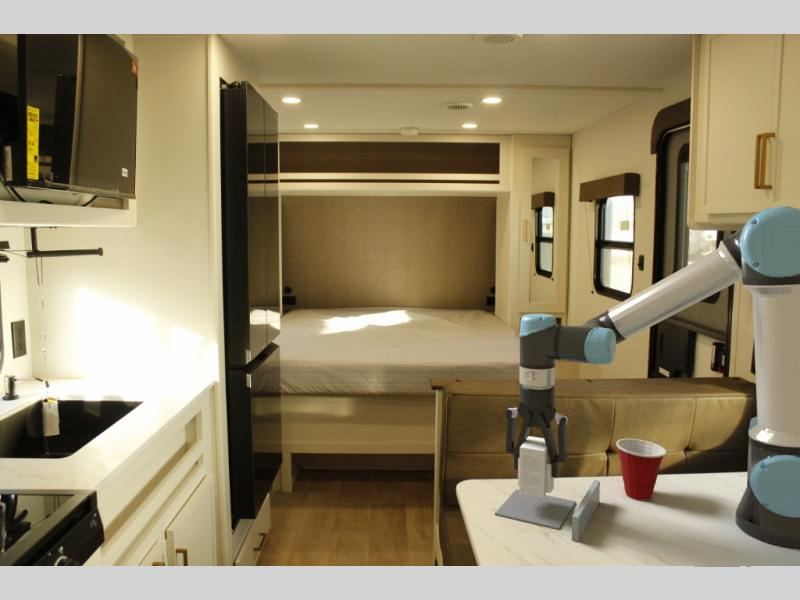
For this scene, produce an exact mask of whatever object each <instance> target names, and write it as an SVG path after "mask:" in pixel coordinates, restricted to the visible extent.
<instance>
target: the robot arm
mask: <svg viewBox="0 0 800 600" xmlns="http://www.w3.org/2000/svg"><path fill="white" fill-rule="evenodd" d="M738 282H742V283H741V284H742V287H743V288H745V289H746V290H747V291H748V292H749V293H750V294H751V296H752V311H753V315H752V316H753V339H754V340H753V341H754V342H753V343H754V365H755V388H756V391H755V392H756V416H754V417H752V418H751V419H750V422H749V428H748V450H747V451H748V453H747V454H748V455H747V456H748V457H747V475H746V477H747V481H746V488H745V489H744V492H743V494H742V497H741V498H740V501H739V503H738V505H737V507H736V511H735V524H736V526H737V527H738V528H739V529H740V530H741V531H742V532H744V533H746V534H747V535H748V536H751V537H752V538H755V539H758V540H760V541H761V542H762V541H763V542H766V543H768V544H772V545H775V546H779V547H780V546H781V547H786V548H793V549H794V548H796V549H800V209H799V208H797V207H793V206H788V205H787V206H775V207H770V208H769V207H768V208H765V209H762V210H761V211H759V212H757V213H755V214H754V215H753V216H751V218H749V220H748V221H747V222H746V224H745V225H743V226H742V227H740V229H738V230H737V231H735V232H733V233H732V234H731V235H730V236H727V237H726V238H724V239H723V240H720V242H719V245H718V248H716V249H714V250H713V251H711V252H709V253H708V254H706V255H704V256H703V257H701V258H698V259H697V260H695V261H693V262H691V263H689V264H688V265H686V266H685V267H682V268H680V269H679V270H678V271H676V272H674V273H672V274H670V275H668V276H666V277H664V278H663V279H661V280H659V281H658V282H656V283H654V284H651V286H649V287H647V288H645V289H643V290H641V291H639V292H638V293H636V294H634V295H632V296H631V297H629V298H627V299H625V300H623V301H622V302H620V303H618V304H617V305H615V306H612V307H611V308H609V309H608V310H607V311H603V312H602V313H600V314H598V315H597V316H594V317H592V318H590V319H589V320H587V321H586V322H585V323H583V324H581V325H577V326H576V325H563V324H562V325H561V324H558V323H557V317H556V316H554V315H553V314H546V313H527V314H525V315H522V317H521V318H520V323H519V324H520V328H519V334H518V337H519V384H520V386H519V387H518V390H519V391H518V394H519V395H518V397H519V399H518V403H519V404H518V405H517V407H512V406H511V407H509V408H507V409H506V410H505V416H506V420H507V423H506V436H505V437H506V442H505V452H506V453H508V454H511V455H512V456H513V468H514V471H517V487H519V488H520V447H521V445H522V444H523V443H524V441H525V440H526V439H527V437H528V435H529V432H530V429H531V428H536V429H540V431H541V434H542V436H543V438H544V440H545V443H546V447H547V450H548V454H549V457H550V461H549V462H548V463H547V493H548V494H551V493H552V491H554V488H555V486H554V485H555V478H556V479H557V477H558V476H559V466H560V465H559V464H560V463H565V461H566V460H567V459H568V439H567V438H568V435H567V429H568V428H567V426H568V425H567V424H568V422H569V419H570V418H569V417H570V416H568V414H564V415H563V414H562V413H558V412H557V410H556V407H555V398H556V397H555V396H556V395H555V393H556V389H555V387H554V385H555V383H556V361H560V362H562V361H563V362H570V363H571V362H572V363H582V364H591V365H593V366H595V365H596V366H597V365H610V364H612V363H613V362H614V359H615V357H616V356H615V355H616V346H617V345H618V344H620V343H622V342H624V341H626V340H627V339H629V338H631V337H633V336H635V335H638V334H639V333H641V332H643V331H644V330H647V329H649V328H650V327H653V326H654V325H657V324H658V323H660V322H662V321H664V320H666V319H668V318H670V317H672V316H674V315H676V314H678V313H679V312H681V311H683V310H686V309H687V308H689V307H691V306H693V305H696V304H697V303H699V302H700V301H701V302H702V300H705V299H707V298H708V297H711V296H712V295H714V294H716V293H718V292H720V291H722V290H724V289H726V288H728V287H730V286H733V284H735V283H738ZM518 415H519V416H520V418H521V419H522V421H523V422H522V425H521V427H520V428H521V429H520V432H519V436H518V439H517V441H516V430H517V429H516V428H517V417H518ZM554 419H555V422H556V424H557V441H558V442H557V445H558V449H557V445H556V442H555V438H554V435H553V431H552V429H553V428H552V425H551V422H552V421H553V420H554ZM547 493H546V494H547Z"/></svg>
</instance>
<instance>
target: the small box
mask: <svg viewBox="0 0 800 600" xmlns="http://www.w3.org/2000/svg"><path fill="white" fill-rule="evenodd" d="M549 461H550V457H549V454H548V450H547V447H546V443H545V440H544V437H537V436H530V435H529V436H527V439H526V440H525V441H524V443H523V444H522V445H521V447H520V487H519V489H518V490H519V493H521V494H527V495H533V496H538V497H545V495H547V463H548V462H549Z"/></svg>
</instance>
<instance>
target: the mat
mask: <svg viewBox="0 0 800 600" xmlns="http://www.w3.org/2000/svg"><path fill="white" fill-rule="evenodd" d="M519 490H520V489H519V488H516V489H515V490H514V491H512V493H511V494H510V495H509V496H508V498H507V499H506V500H505V501H504V502H503V503H502V504H501V505H500V507H499V508H498V509H497V510H496V511H495V512H494V515H495V516H498V517H503V518H506V519H511V520H515V521H519V522H524V523H529V524H531V525H537V526H541V527H545V528H549V529H552V530H553V529H554V530H558V531H559V530H560V529H561V527H562V526H563V524H564V523H565V521H566V520H567V518H568V516H569V515H570V513H571V511H572V509H573V508H574V506H575V505H576V504H577V502H576V500H573V499H572V500H571V499H565V498H561V497H555V496H550V495H547V494H546V495H545V497H538V496H533V495H527V494H521V493H519Z"/></svg>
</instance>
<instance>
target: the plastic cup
mask: <svg viewBox="0 0 800 600" xmlns="http://www.w3.org/2000/svg"><path fill="white" fill-rule="evenodd" d="M616 448H617V450H618V455H619V461H620V468H621V469H620V470H621V475H622V481H623V485H624V486H623V488H624V492H625V495H626V496H627V497H628V498H630V499H633V500H637V501H649V500H651V499H652V497H653V495H654V489H655V485H656V483H657V479H658V475H659V472H660V465H662V461H663V460H664V459H663V458H664V456H666V455H667V450H666V449H665V448H664V447H663V446H661V445H659V444H657V443H655V442H650V441H648V440H644V439H637V438H620V439H619V440H617V441H616Z"/></svg>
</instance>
